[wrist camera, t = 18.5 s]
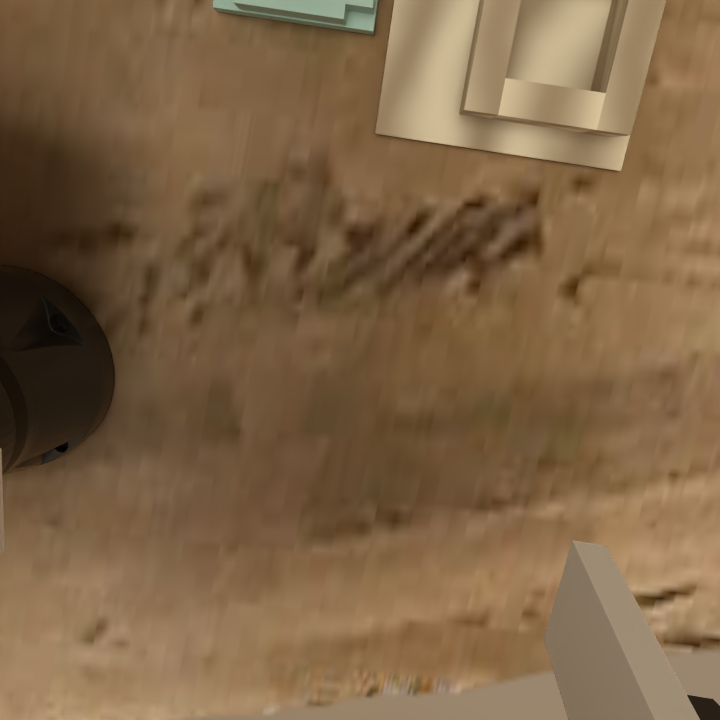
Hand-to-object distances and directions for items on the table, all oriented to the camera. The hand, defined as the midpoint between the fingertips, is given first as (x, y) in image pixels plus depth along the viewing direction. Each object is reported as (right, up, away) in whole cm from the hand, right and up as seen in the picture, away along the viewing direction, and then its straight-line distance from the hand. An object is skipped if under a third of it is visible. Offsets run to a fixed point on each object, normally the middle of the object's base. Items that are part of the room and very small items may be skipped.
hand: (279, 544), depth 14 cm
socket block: (+13, +27, +24) cm, 38 cm away
